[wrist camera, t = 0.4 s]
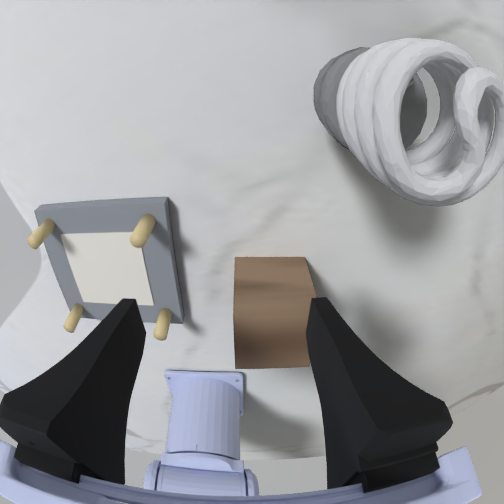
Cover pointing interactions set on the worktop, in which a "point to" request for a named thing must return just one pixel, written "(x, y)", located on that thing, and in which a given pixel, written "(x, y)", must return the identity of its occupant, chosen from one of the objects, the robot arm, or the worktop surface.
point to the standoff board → (113, 258)
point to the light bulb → (415, 117)
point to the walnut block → (271, 312)
